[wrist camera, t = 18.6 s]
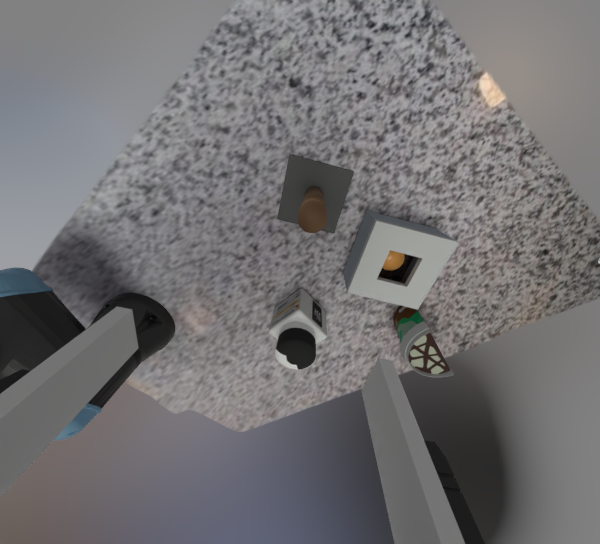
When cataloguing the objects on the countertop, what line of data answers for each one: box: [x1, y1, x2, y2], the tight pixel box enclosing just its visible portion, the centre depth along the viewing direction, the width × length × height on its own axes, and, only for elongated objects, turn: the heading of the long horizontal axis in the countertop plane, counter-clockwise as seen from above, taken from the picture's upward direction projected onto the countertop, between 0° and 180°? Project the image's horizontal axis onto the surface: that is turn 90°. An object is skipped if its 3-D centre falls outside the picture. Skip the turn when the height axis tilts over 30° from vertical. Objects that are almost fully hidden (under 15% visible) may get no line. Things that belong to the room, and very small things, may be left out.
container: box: [269, 288, 327, 369], centre depth 41 cm, size 8×8×13 cm
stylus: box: [297, 186, 327, 233], centre depth 29 cm, size 3×3×15 cm
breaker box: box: [343, 210, 459, 310], centre depth 36 cm, size 12×12×7 cm
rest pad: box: [277, 154, 354, 233], centre depth 36 cm, size 10×10×1 cm
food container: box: [393, 306, 454, 377], centre depth 42 cm, size 12×6×10 cm, turn 34°
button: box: [382, 250, 405, 270], centre depth 38 cm, size 4×4×3 cm
